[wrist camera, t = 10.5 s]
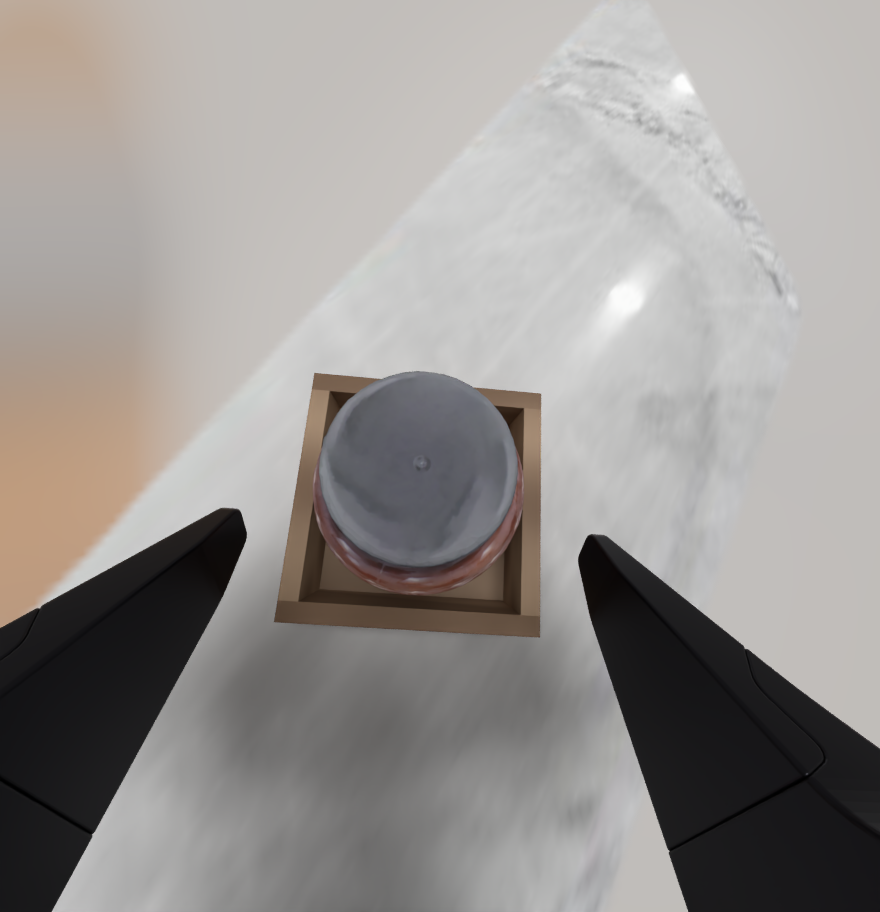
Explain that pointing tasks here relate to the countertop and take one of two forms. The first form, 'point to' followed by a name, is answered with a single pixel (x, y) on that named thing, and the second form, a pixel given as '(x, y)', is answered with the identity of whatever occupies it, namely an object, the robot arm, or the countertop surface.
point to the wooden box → (458, 610)
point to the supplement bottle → (418, 484)
